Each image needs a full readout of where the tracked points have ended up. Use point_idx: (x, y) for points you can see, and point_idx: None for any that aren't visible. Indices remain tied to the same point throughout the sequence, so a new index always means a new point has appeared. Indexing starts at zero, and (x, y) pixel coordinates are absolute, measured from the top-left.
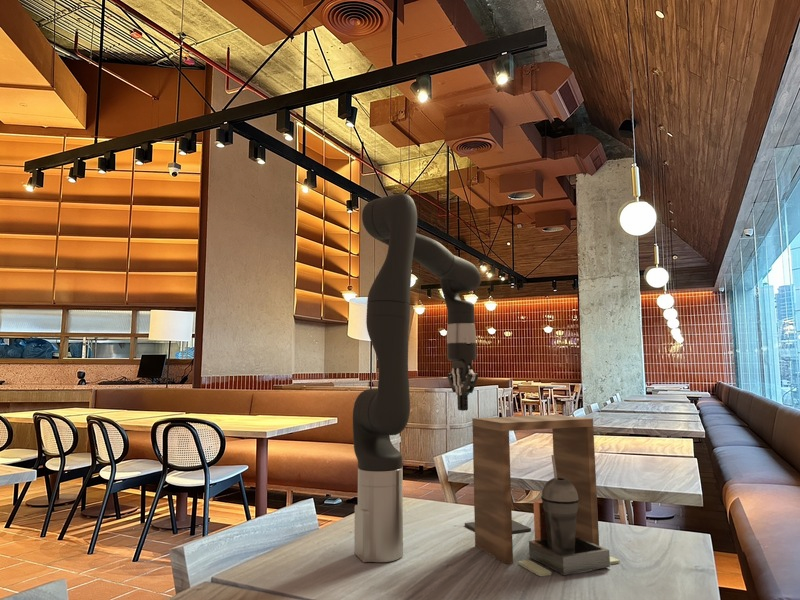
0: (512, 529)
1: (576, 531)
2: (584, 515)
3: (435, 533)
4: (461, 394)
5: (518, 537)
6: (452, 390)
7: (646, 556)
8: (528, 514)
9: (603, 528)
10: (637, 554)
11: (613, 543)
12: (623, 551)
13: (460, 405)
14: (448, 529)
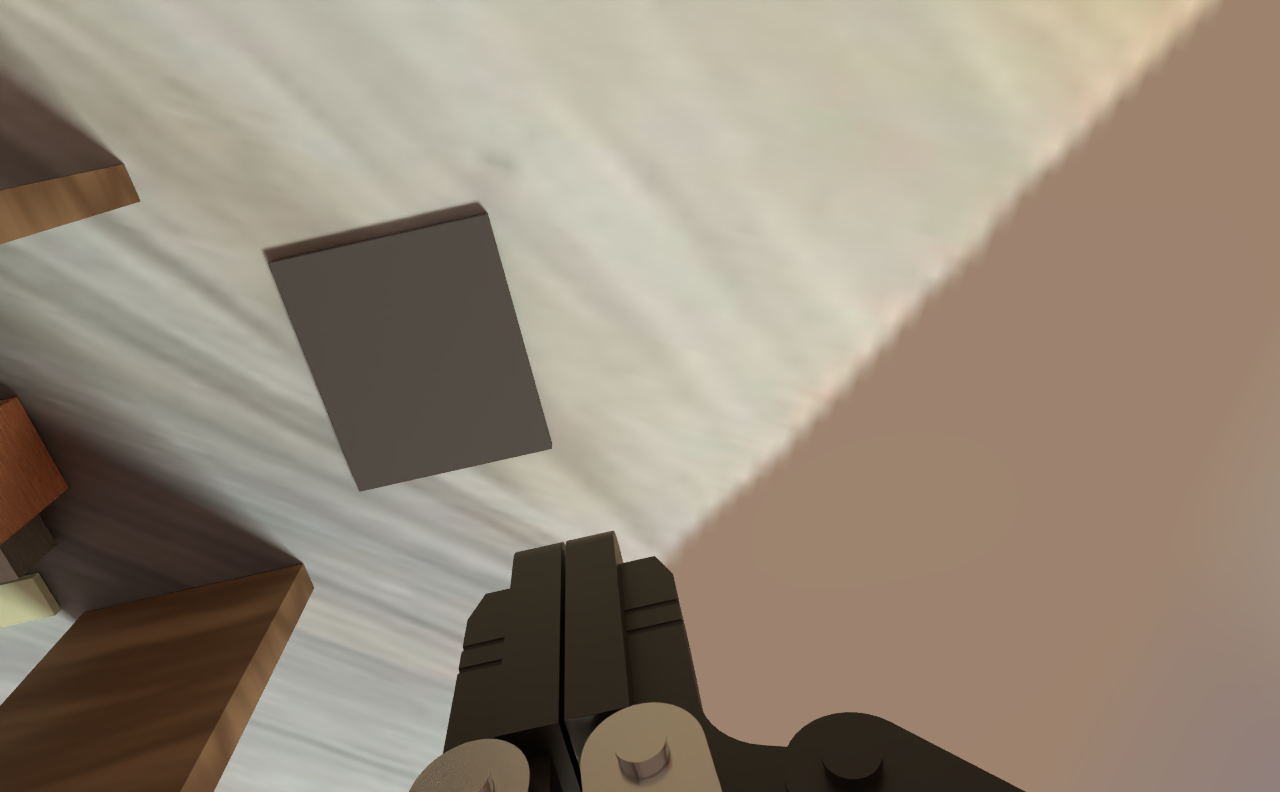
0: (346, 409)
1: (153, 621)
2: (51, 690)
3: (356, 7)
4: (423, 784)
5: (266, 403)
6: (916, 739)
7: None
8: None
9: (381, 744)
10: None
11: None
12: None
13: (512, 598)
14: (428, 104)
